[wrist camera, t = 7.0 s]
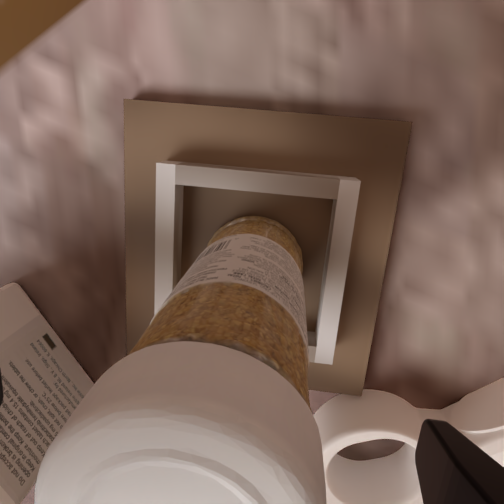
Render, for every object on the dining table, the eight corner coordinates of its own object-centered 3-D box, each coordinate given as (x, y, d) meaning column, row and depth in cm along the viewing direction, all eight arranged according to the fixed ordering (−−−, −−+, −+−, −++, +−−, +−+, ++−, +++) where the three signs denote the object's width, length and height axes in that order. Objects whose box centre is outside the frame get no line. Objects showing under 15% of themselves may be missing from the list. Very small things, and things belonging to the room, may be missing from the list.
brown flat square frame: (359, 386, 21) (366, 414, 19) (132, 358, 22) (115, 382, 20) (407, 122, 17) (423, 120, 15) (130, 100, 18) (109, 96, 16)
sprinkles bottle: (234, 320, 20) (122, 675, 7) (188, 238, 19) (-41, 471, 6) (321, 283, 19) (382, 615, 6) (277, 194, 18) (237, 359, 5)
